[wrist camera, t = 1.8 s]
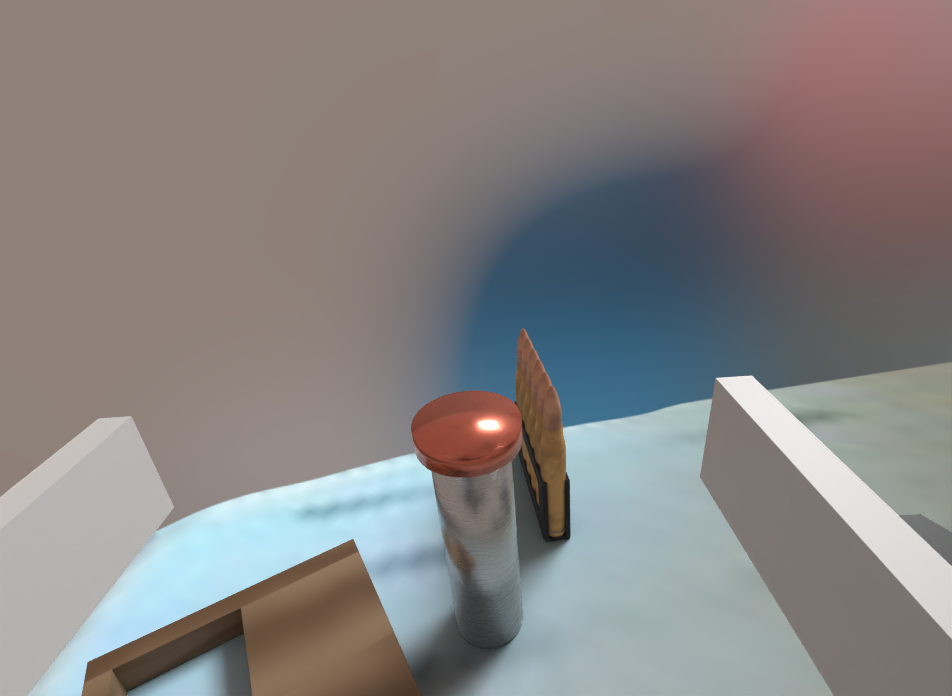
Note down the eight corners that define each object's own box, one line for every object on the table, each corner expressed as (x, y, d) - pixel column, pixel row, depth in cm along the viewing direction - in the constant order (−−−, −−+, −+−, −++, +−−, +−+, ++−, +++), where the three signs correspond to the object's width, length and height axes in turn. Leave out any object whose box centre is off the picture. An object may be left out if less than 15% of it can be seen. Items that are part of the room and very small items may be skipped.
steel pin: (550, 627, 28) (544, 426, 22) (473, 678, 26) (440, 471, 19) (502, 564, 32) (485, 380, 26) (432, 603, 30) (394, 413, 24)
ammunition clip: (571, 539, 33) (571, 391, 28) (545, 542, 33) (539, 396, 28) (537, 445, 43) (532, 322, 38) (516, 448, 43) (509, 325, 38)
